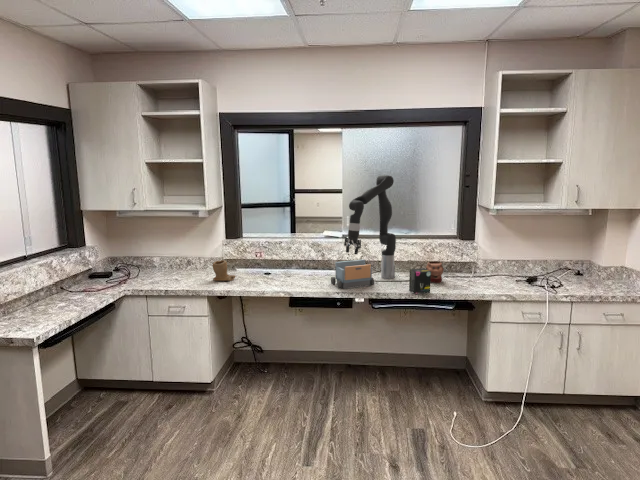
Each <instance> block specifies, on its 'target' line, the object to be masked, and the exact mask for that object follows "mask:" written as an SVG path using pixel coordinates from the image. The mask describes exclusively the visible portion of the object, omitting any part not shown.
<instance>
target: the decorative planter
mask: <svg viewBox="0 0 640 480" xmlns="http://www.w3.org/2000/svg"><path fill="white" fill-rule="evenodd" d="M425 269H427V270H429V271H431V283H435V284H436V283H437V284H440V283H442V282H443V279H442V278H443V277H442V275H443V273H444V266H443V263H442V262H441V261H432V260H431V261H428V262H427V264H426V266H425Z"/></svg>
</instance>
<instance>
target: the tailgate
mask: <svg viewBox="0 0 640 480" xmlns="http://www.w3.org/2000/svg"><path fill="white" fill-rule="evenodd" d="M371 267H372V265H371V263H367V264H366V265H358V266H347V267H345V280H352V279H361V278H370V277H371Z"/></svg>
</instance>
